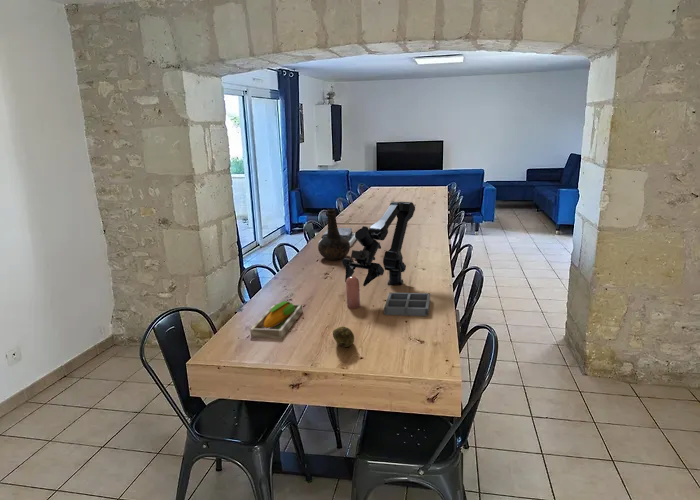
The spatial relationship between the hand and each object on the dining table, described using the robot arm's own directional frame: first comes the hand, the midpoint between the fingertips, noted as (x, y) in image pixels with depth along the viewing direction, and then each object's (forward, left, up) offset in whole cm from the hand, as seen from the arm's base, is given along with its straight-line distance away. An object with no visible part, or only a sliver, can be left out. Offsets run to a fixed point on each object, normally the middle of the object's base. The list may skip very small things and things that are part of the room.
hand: (354, 284), depth 200 cm
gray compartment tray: (+1, +22, -9) cm, 24 cm away
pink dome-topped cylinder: (+1, -1, -9) cm, 9 cm away
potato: (+37, +3, -9) cm, 39 cm away
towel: (-104, -32, -9) cm, 109 cm away
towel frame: (-104, -32, -9) cm, 109 cm away
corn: (+22, -26, -9) cm, 35 cm away
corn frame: (+21, -27, -9) cm, 35 cm away
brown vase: (-69, -26, -9) cm, 74 cm away
